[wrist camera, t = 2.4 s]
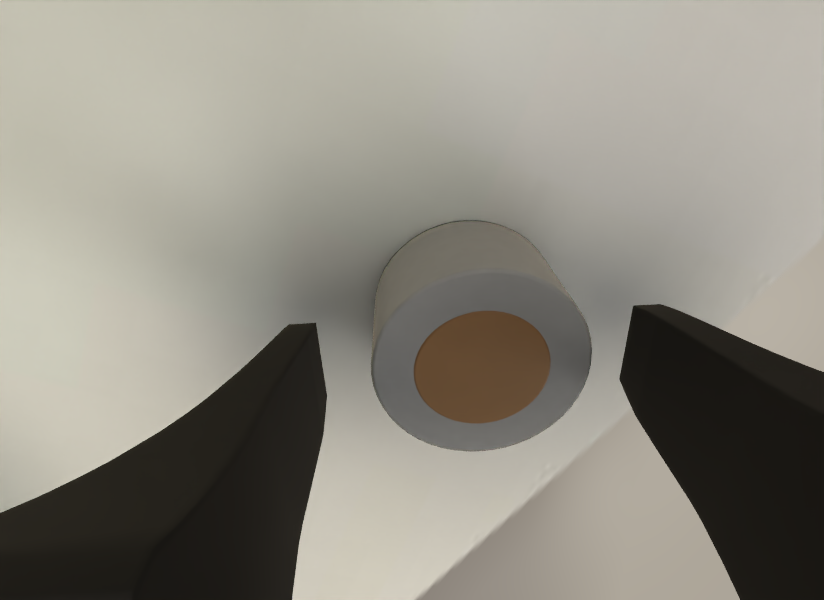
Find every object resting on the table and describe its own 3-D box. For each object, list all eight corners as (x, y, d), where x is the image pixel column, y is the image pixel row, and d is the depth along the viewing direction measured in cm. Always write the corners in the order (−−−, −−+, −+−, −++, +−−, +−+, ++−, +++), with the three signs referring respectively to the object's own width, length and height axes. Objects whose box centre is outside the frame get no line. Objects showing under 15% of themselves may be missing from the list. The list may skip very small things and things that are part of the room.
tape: (588, 268, 13) (640, 328, 10) (492, 398, 15) (514, 477, 12) (428, 186, 12) (439, 229, 9) (346, 338, 14) (334, 411, 11)
